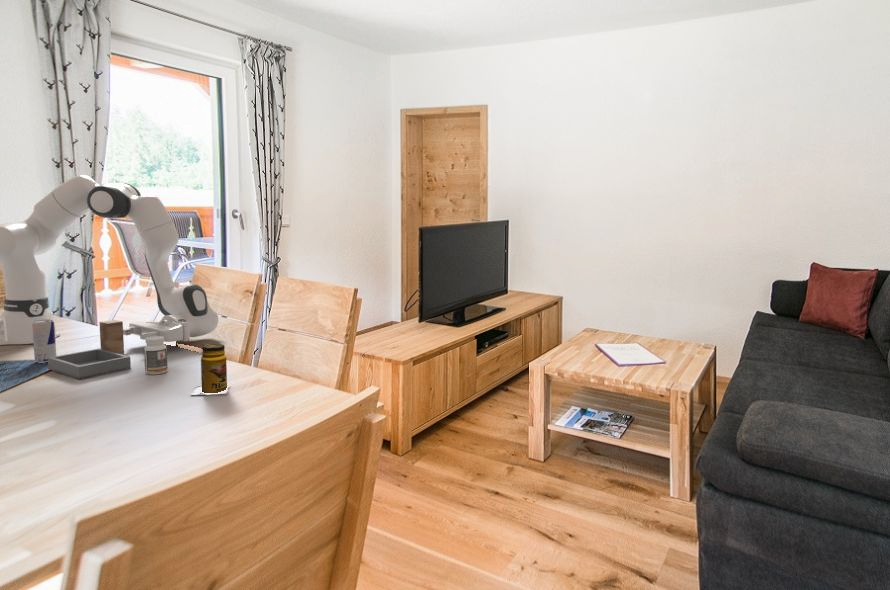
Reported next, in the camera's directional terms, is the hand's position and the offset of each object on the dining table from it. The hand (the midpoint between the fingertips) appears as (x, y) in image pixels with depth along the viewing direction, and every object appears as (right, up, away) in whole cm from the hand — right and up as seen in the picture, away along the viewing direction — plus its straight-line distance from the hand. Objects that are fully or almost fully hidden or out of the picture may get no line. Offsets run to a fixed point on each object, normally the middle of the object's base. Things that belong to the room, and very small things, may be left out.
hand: (132, 334), depth 185 cm
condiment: (+38, -12, -34) cm, 53 cm away
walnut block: (-3, -7, -5) cm, 9 cm away
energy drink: (-19, -7, -11) cm, 24 cm away
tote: (-2, -9, -18) cm, 20 cm away
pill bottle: (+17, -10, -19) cm, 27 cm away
